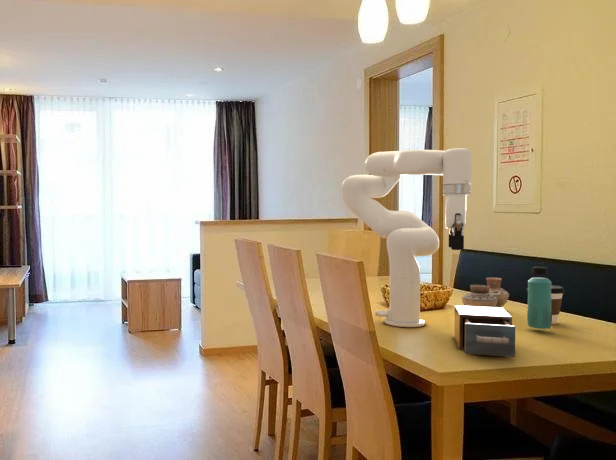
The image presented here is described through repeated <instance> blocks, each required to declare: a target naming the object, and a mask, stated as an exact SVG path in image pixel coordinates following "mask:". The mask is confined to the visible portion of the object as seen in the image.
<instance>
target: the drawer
mask: <svg viewBox="0 0 616 460" xmlns="http://www.w3.org/2000/svg"><path fill="white" fill-rule="evenodd" d="M463 343H464V345H465V350H464V354H465V355H480V356H490V357H491V356H492V357H504V358H505V357H506V358H507V357H509V358H515V357H516V326H515V325H513V324H512V325H510V324H509V323H508V322H507V321H506V320H504V319H485V318H465V317H463Z"/></svg>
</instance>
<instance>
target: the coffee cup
mask: <svg viewBox="0 0 616 460" xmlns="http://www.w3.org/2000/svg"><path fill="white" fill-rule="evenodd" d="M526 291H527V292H528V287H526ZM564 294H566V290H565V289H564V287H563V286H560V285H554V284H551V304H552V307H551V309H552V310H551V313H552V323H551V325H556V324H557V322H558V319H559V315H560V312H561V308H562V301H563V295H564Z"/></svg>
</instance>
